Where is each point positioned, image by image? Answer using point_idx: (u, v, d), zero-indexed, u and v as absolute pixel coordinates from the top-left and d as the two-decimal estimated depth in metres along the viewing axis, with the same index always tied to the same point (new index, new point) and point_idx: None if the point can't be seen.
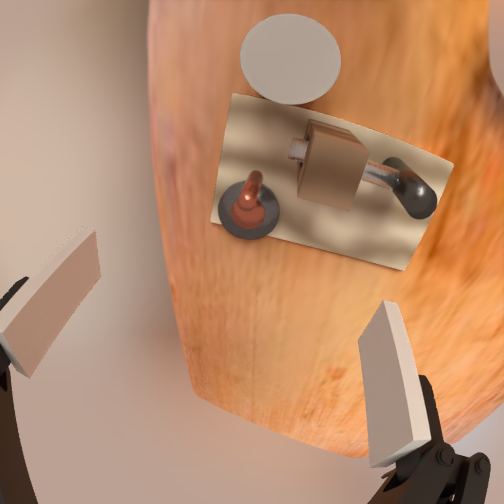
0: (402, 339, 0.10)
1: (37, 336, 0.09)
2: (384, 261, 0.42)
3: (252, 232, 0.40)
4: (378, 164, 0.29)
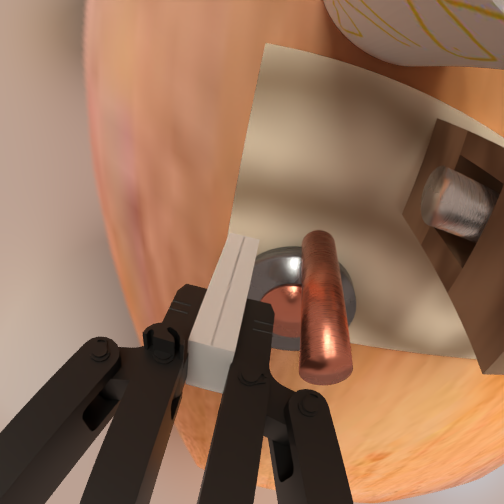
0: (245, 265, 0.12)
1: None
2: None
3: (297, 340, 0.20)
4: None
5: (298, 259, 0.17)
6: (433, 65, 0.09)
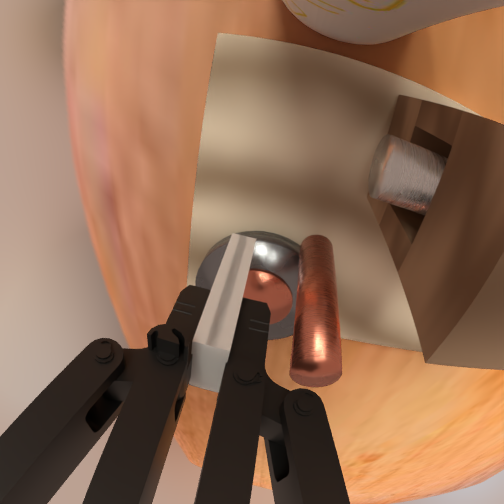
0: (242, 264, 0.12)
1: None
2: None
3: None
4: None
5: (290, 253, 0.17)
6: (380, 36, 0.09)
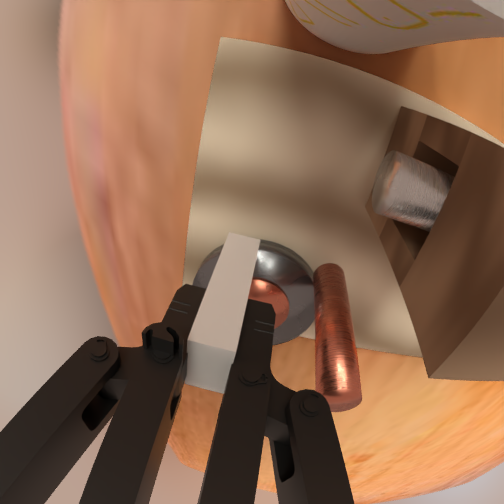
0: (246, 265, 0.12)
1: None
2: None
3: None
4: None
5: (303, 273, 0.17)
6: (388, 48, 0.09)
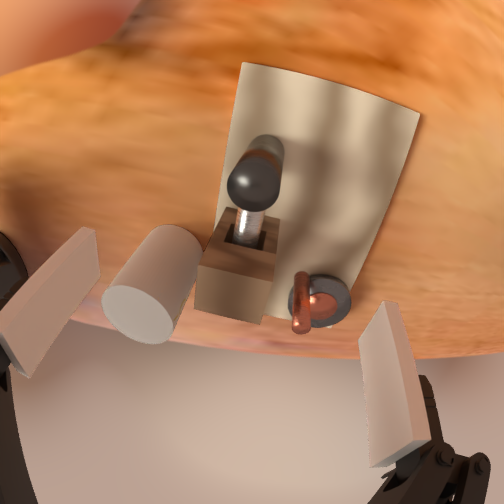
0: (402, 339, 0.10)
1: (37, 336, 0.09)
2: (402, 146, 0.26)
3: (335, 316, 0.37)
4: (239, 206, 0.26)
5: None
6: (194, 266, 0.35)
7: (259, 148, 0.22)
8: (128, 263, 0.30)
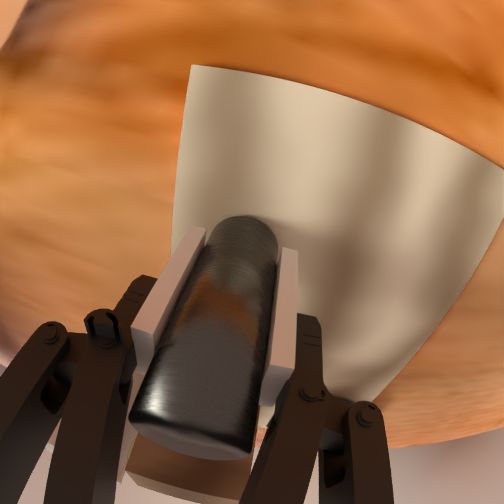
0: (290, 278, 0.12)
1: None
2: (484, 236, 0.13)
3: None
4: None
5: None
6: None
7: (212, 301, 0.10)
8: None
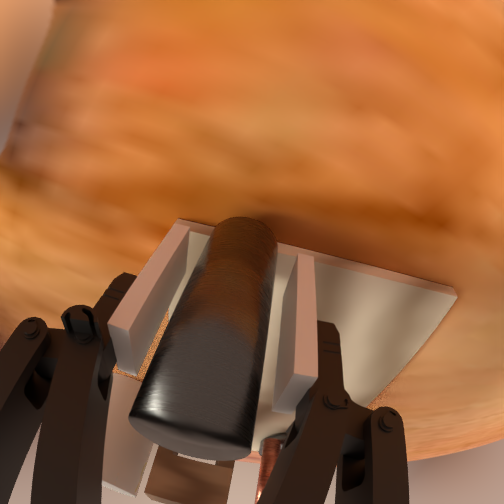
0: (307, 285, 0.12)
1: (147, 332, 0.10)
2: (419, 337, 0.18)
3: None
4: None
5: None
6: None
7: (212, 302, 0.10)
8: None
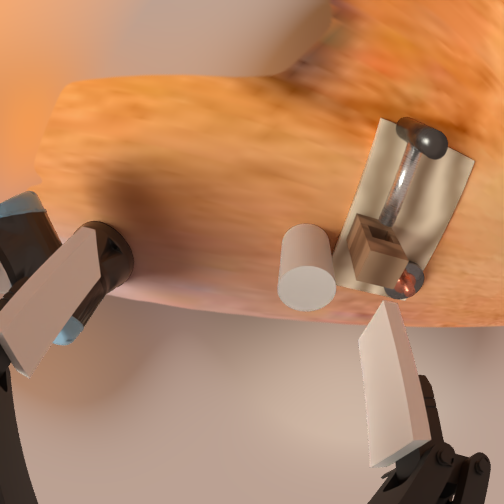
0: (402, 339, 0.10)
1: (37, 336, 0.09)
2: (463, 180, 0.39)
3: None
4: (403, 160, 0.35)
5: None
6: None
7: (424, 124, 0.31)
8: (296, 251, 0.43)
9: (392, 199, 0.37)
